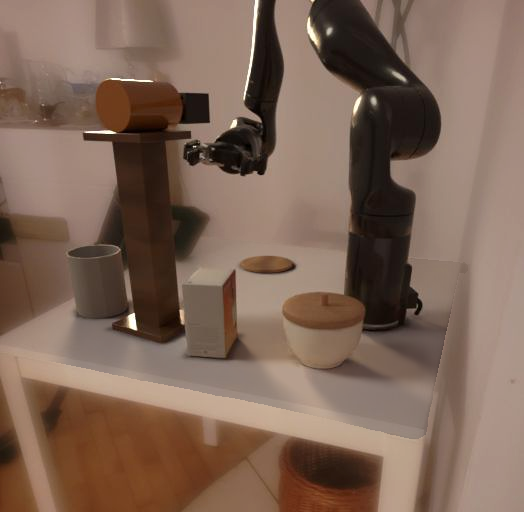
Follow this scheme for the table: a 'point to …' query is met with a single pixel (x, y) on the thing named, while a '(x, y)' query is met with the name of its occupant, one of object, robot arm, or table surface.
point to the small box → (210, 311)
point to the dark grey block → (195, 108)
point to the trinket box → (322, 327)
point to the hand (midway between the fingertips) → (217, 164)
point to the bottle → (138, 105)
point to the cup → (98, 280)
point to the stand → (147, 230)
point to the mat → (267, 264)
